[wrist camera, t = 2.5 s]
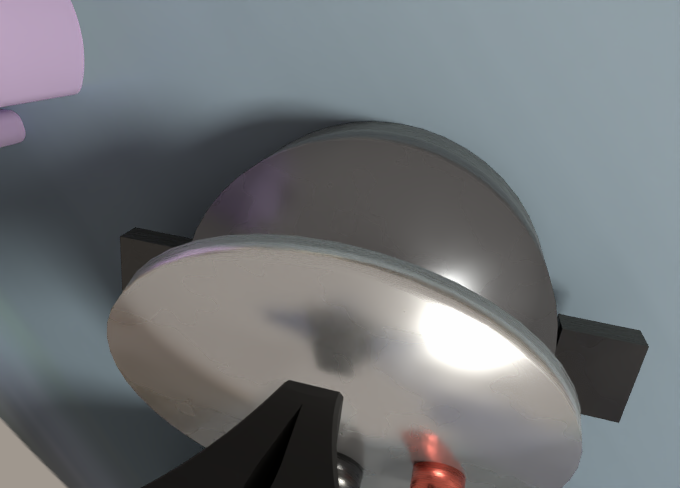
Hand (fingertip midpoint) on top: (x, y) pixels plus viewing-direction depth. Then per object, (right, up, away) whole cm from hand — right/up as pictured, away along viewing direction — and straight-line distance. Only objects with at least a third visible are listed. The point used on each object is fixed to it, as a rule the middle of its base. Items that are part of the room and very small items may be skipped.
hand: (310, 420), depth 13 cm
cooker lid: (+1, 0, +4) cm, 4 cm away
